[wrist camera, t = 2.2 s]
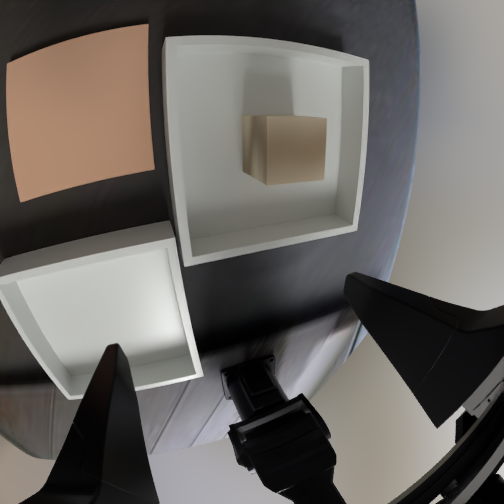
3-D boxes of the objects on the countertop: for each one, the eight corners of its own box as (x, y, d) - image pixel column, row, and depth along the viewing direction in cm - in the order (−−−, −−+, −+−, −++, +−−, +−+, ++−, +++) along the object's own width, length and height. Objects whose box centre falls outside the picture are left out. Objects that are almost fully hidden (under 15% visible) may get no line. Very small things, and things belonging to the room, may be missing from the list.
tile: (154, 167, 17) (154, 169, 16) (23, 200, 14) (20, 202, 13) (148, 26, 12) (148, 23, 11) (10, 64, 9) (7, 63, 8)
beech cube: (292, 167, 20) (323, 180, 17) (242, 171, 19) (266, 185, 15) (294, 115, 18) (326, 118, 15) (241, 115, 17) (266, 116, 13)
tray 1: (195, 353, 26) (203, 376, 23) (69, 376, 21) (68, 399, 19) (169, 220, 19) (175, 237, 16) (4, 258, 14) (-10, 279, 12)
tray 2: (335, 217, 24) (356, 230, 22) (177, 246, 20) (184, 266, 18) (343, 62, 17) (368, 60, 15) (161, 49, 13) (165, 37, 11)
